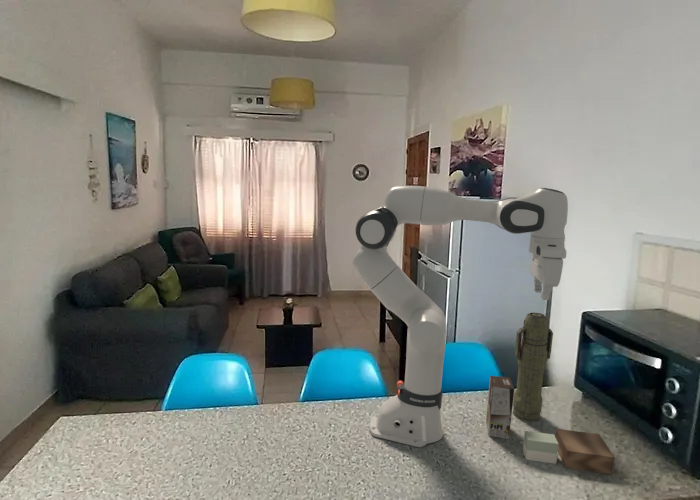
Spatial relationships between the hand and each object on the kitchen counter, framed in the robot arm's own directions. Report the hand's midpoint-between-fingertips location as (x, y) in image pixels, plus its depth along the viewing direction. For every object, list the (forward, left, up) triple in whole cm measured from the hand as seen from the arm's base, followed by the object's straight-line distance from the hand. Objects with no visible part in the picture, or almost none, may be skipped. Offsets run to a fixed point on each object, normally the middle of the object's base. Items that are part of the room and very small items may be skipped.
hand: (541, 295), depth 132 cm
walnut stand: (+15, -3, -46) cm, 48 cm away
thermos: (+4, +20, -46) cm, 50 cm away
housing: (+3, -5, -46) cm, 46 cm away
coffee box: (-7, +7, -46) cm, 47 cm away
